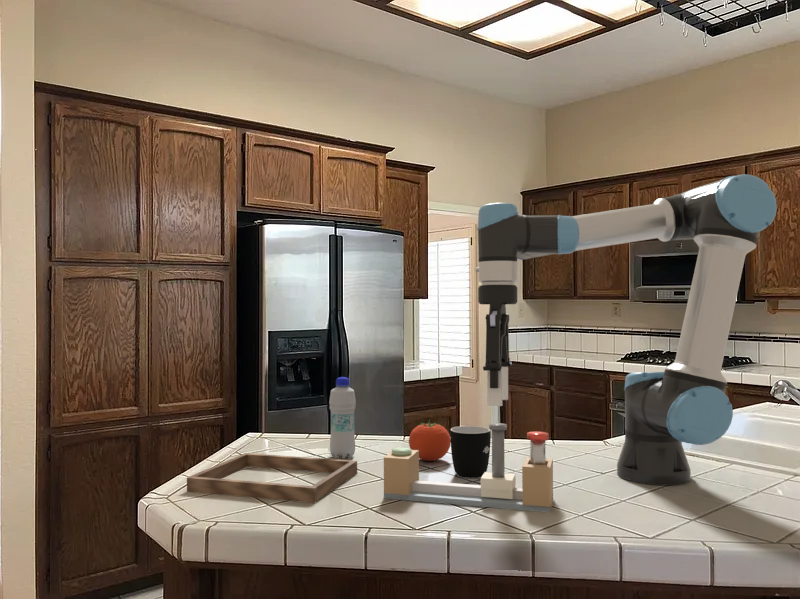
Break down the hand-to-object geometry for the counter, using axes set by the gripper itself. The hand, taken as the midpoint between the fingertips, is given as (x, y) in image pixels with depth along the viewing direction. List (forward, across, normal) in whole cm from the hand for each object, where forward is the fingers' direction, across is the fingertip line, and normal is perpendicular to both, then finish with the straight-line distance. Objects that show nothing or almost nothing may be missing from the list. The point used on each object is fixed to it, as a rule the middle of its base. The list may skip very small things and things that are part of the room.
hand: (498, 402), depth 128 cm
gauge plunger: (+15, 0, +8) cm, 16 cm away
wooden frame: (+19, -1, -48) cm, 52 cm away
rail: (+19, 0, -6) cm, 20 cm away
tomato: (+19, -29, -21) cm, 41 cm away
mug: (+19, -20, -9) cm, 29 cm away
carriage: (+18, 0, 0) cm, 18 cm away
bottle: (+19, -27, -43) cm, 54 cm away
